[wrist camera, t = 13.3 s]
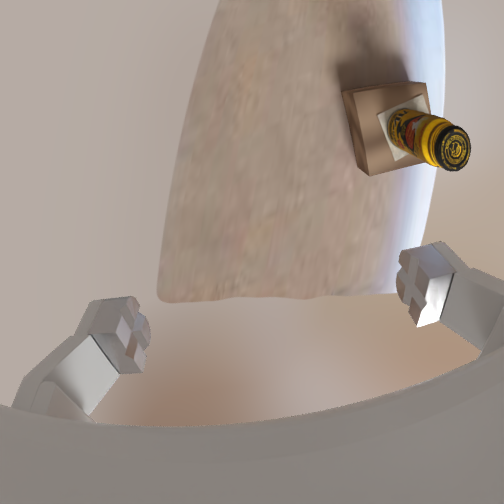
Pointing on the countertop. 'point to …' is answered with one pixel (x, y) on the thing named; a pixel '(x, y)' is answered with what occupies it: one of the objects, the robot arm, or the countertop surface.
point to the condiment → (425, 135)
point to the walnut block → (378, 123)
